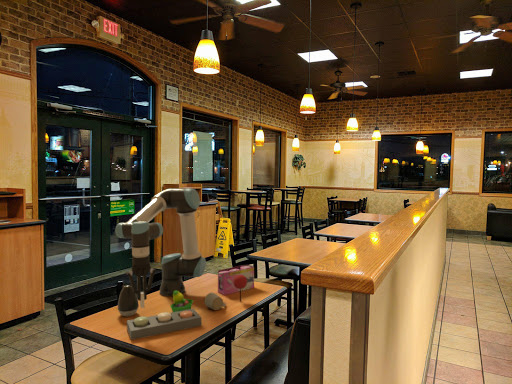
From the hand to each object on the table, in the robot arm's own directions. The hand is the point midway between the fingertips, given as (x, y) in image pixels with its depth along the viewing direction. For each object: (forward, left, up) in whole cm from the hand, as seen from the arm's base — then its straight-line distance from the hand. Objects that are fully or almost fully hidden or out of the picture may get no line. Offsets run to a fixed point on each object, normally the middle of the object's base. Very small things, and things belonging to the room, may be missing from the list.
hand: (142, 306), depth 167 cm
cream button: (0, +10, -8) cm, 13 cm away
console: (0, +10, -12) cm, 15 cm away
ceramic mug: (-13, +40, -12) cm, 44 cm away
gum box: (-35, +62, -12) cm, 72 cm away
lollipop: (-15, +56, -12) cm, 59 cm away
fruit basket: (-15, +22, -12) cm, 29 cm away
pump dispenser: (-25, -3, -12) cm, 28 cm away
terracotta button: (0, +20, -9) cm, 22 cm away
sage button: (0, -1, -8) cm, 8 cm away
